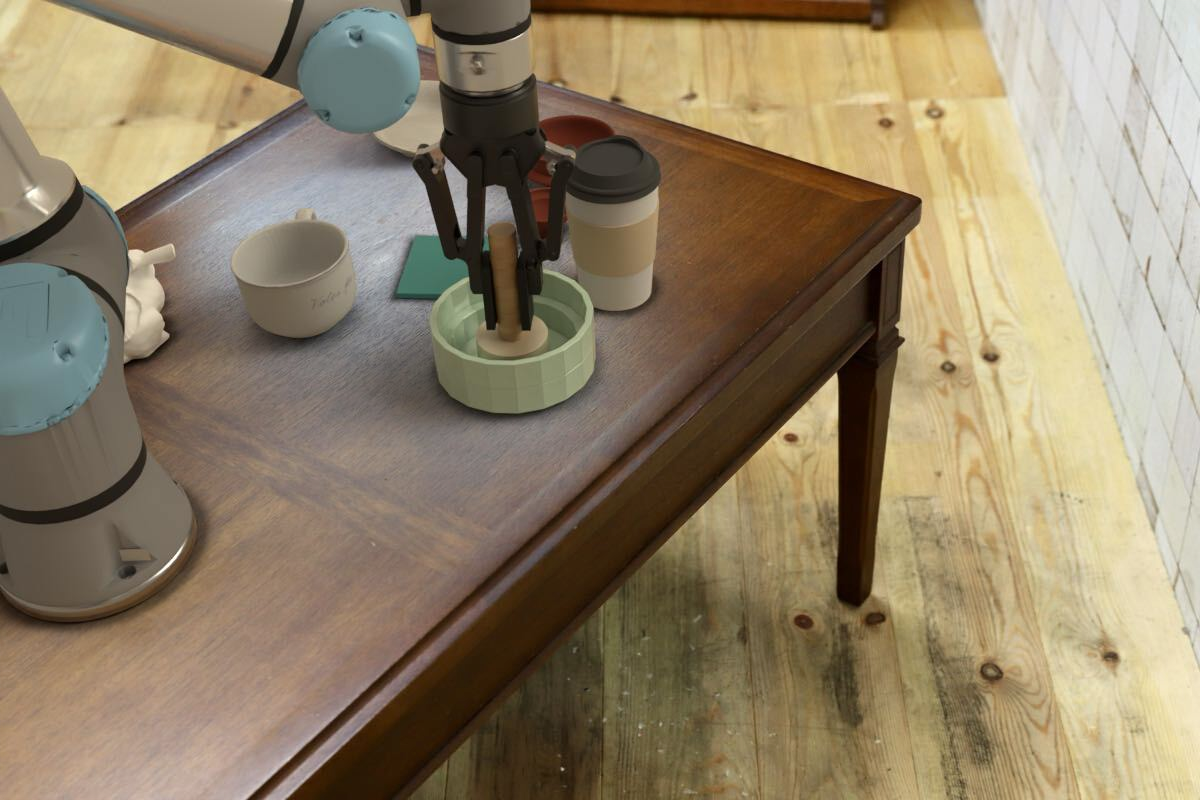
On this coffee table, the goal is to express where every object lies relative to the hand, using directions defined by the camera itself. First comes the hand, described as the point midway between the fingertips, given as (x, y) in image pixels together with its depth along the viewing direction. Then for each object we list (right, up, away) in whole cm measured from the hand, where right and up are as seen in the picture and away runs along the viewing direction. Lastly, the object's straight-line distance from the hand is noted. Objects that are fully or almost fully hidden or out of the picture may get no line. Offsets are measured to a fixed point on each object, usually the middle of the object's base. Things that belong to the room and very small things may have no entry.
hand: (510, 320), depth 121 cm
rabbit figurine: (-34, -1, +9) cm, 35 cm away
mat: (-6, +6, +15) cm, 18 cm away
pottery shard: (-12, +22, +34) cm, 42 cm away
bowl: (0, -4, +3) cm, 5 cm away
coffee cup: (+9, +3, +12) cm, 15 cm away
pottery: (+4, +15, +25) cm, 29 cm away
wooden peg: (0, -3, +3) cm, 4 cm away
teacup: (-20, +2, +11) cm, 23 cm away
